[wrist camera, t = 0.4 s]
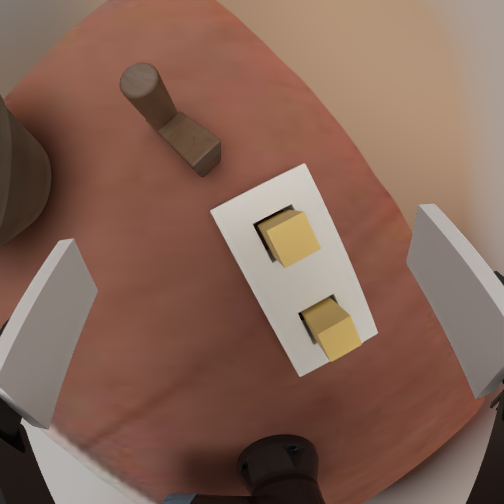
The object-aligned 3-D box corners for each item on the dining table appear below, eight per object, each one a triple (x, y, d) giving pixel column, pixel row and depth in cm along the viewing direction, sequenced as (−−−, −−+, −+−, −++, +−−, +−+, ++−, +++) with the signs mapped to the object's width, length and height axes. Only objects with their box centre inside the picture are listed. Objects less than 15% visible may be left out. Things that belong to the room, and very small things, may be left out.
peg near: (302, 239, 38) (321, 248, 31) (272, 255, 38) (284, 268, 30) (287, 209, 37) (303, 211, 30) (257, 225, 37) (266, 231, 30)
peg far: (339, 320, 40) (362, 344, 33) (312, 335, 40) (330, 362, 33) (328, 295, 39) (350, 315, 32) (300, 311, 39) (317, 334, 32)
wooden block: (202, 178, 42) (189, 162, 24) (150, 125, 40) (108, 81, 23) (222, 159, 42) (222, 131, 24) (169, 107, 40) (140, 53, 22)
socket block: (355, 313, 47) (378, 332, 40) (287, 351, 47) (299, 377, 39) (290, 169, 43) (304, 163, 35) (211, 209, 43) (209, 210, 35)
